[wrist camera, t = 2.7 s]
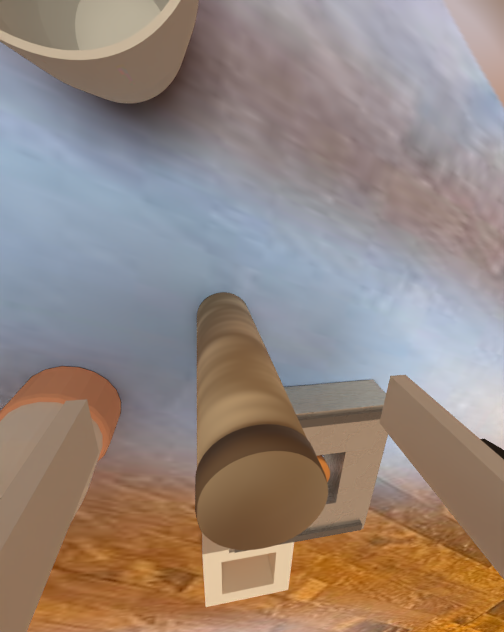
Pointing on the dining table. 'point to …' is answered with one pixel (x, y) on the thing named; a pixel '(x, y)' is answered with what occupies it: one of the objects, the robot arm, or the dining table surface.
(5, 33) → the cup
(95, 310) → the dining table surface
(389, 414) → the robot arm
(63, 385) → the salt shaker
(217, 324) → the brown wooden cylinder
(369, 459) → the grey square frame
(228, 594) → the holder
